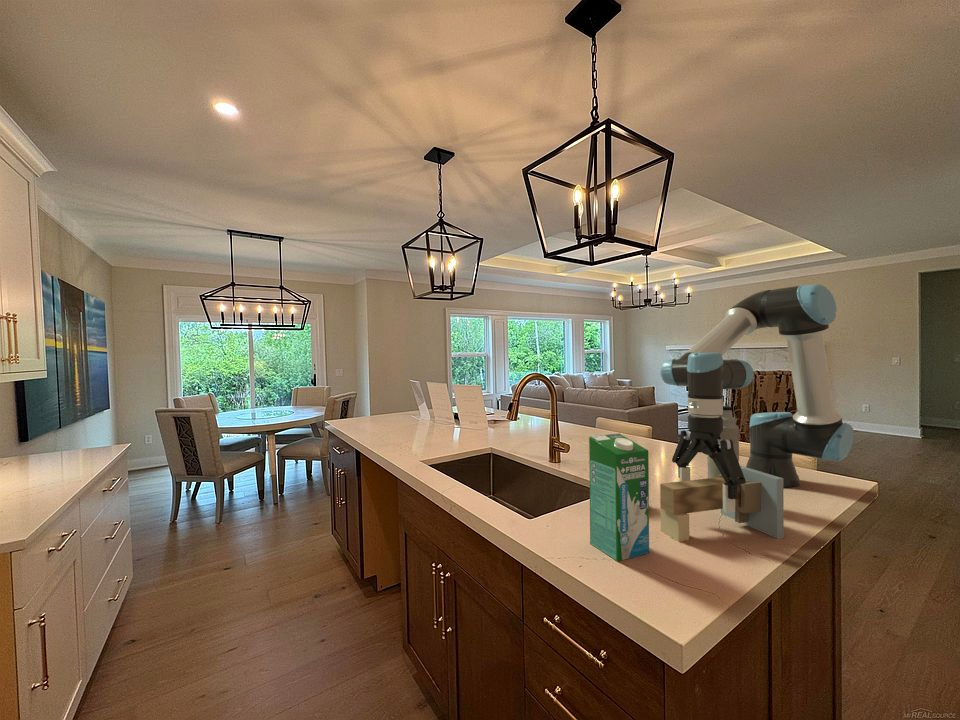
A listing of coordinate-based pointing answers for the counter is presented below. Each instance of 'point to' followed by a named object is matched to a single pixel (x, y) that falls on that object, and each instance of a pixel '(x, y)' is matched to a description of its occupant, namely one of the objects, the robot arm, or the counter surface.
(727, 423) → the thermos bottle
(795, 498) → the counter surface
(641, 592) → the counter surface
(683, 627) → the counter surface
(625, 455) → the milk carton
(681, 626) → the counter surface
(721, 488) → the brown wooden block
